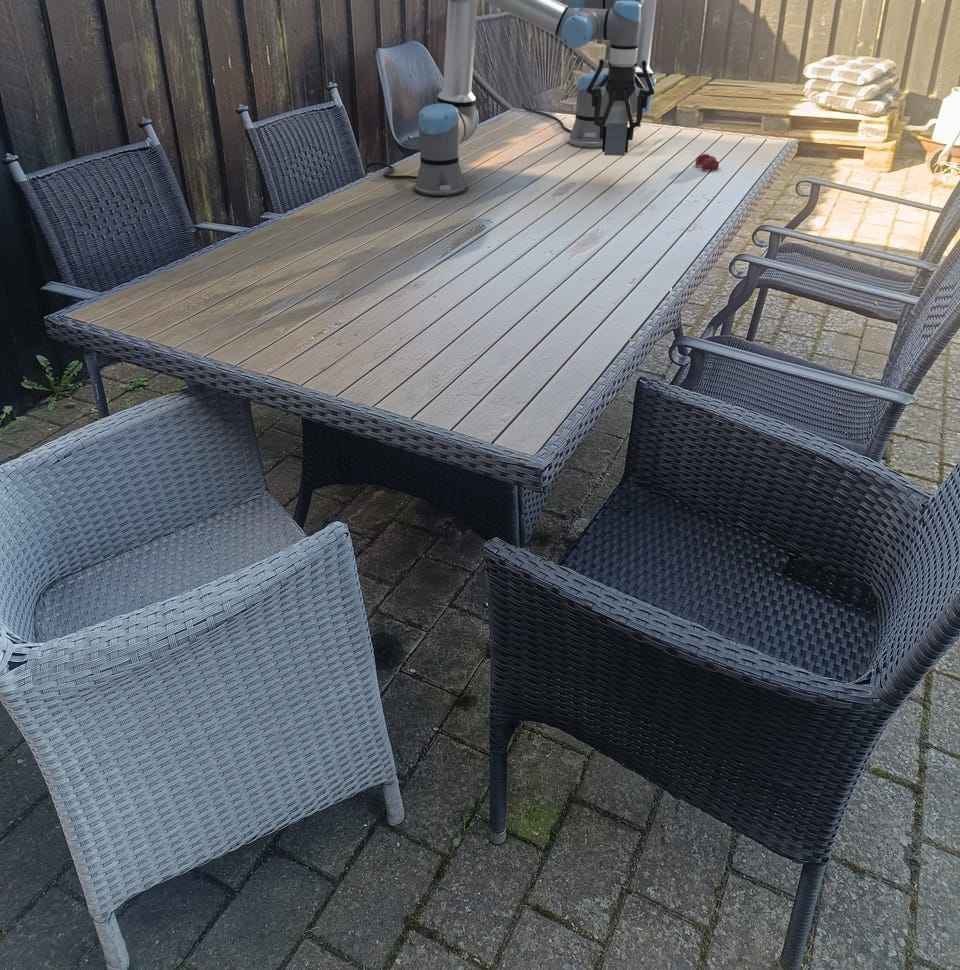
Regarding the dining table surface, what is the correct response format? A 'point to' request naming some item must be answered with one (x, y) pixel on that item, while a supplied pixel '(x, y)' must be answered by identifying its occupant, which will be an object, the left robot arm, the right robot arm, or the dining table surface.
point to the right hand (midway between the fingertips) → (617, 118)
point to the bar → (616, 131)
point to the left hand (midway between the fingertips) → (614, 150)
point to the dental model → (707, 162)
